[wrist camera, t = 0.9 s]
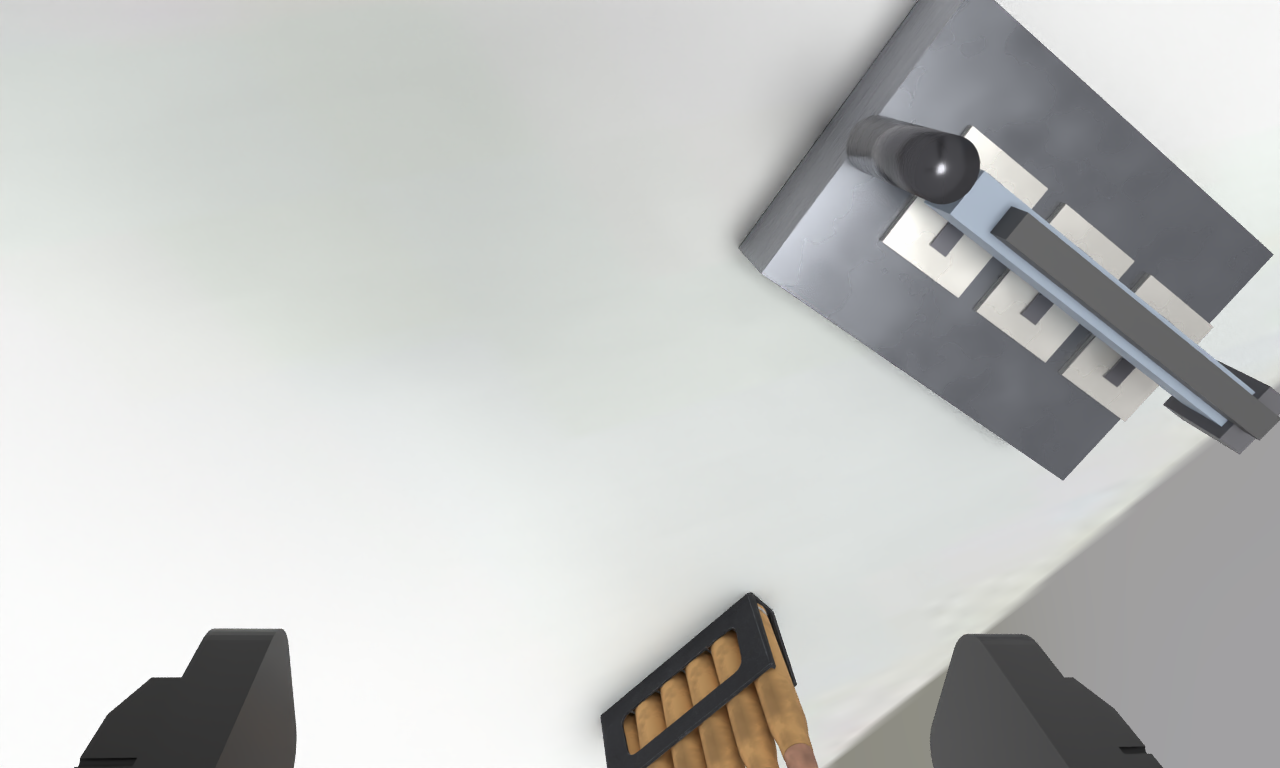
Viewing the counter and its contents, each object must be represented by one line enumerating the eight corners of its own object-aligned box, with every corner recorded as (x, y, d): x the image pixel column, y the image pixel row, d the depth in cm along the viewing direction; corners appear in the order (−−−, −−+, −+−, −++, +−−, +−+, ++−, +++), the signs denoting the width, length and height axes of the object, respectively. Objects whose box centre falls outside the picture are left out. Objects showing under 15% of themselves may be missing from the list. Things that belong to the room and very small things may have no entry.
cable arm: (953, 148, 28) (1010, 164, 25) (1227, 371, 33) (1306, 411, 29) (907, 208, 29) (955, 231, 25) (1182, 419, 33) (1254, 463, 30)
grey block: (917, -20, 32) (1068, -39, 23) (1201, 232, 37) (1416, 298, 28) (729, 241, 35) (794, 316, 26) (1015, 439, 40) (1154, 560, 31)
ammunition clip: (750, 590, 42) (823, 788, 31) (773, 610, 43) (853, 811, 32) (599, 716, 44) (618, 943, 33) (624, 733, 45) (650, 961, 34)
